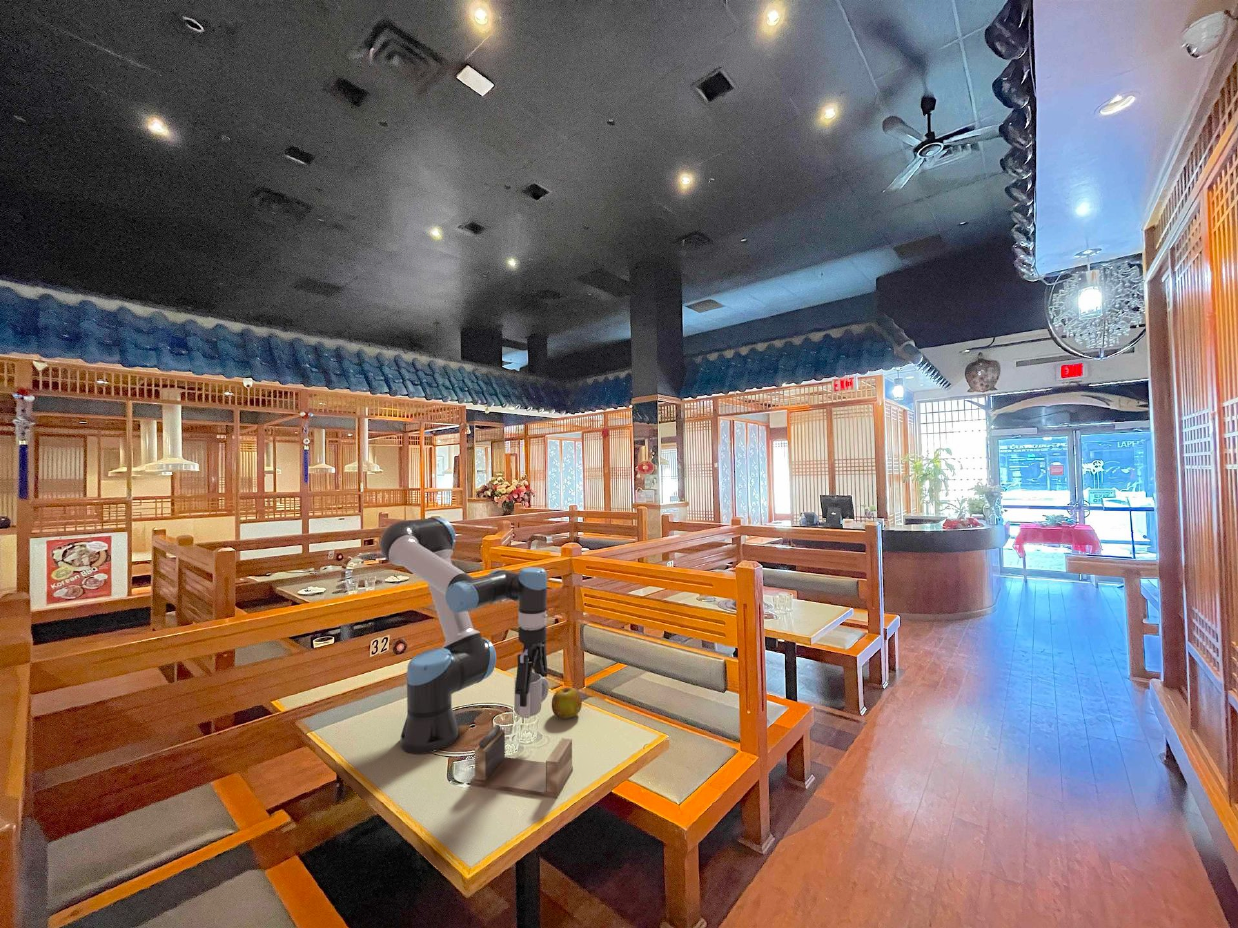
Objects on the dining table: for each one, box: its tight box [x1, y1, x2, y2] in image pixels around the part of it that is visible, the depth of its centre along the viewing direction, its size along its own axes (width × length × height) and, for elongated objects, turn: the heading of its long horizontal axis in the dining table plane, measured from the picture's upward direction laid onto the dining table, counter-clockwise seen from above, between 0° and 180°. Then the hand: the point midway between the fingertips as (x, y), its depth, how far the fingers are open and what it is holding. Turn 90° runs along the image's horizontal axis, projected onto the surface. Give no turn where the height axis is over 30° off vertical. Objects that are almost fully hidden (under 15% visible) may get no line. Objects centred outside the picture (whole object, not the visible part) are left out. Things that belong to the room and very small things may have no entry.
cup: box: [513, 671, 550, 717], centre depth 137 cm, size 7×10×9 cm
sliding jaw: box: [474, 724, 506, 780], centre depth 125 cm, size 3×10×9 cm, turn 166°
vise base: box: [469, 737, 574, 799], centre depth 123 cm, size 22×11×8 cm, turn 76°
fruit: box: [551, 686, 583, 720], centre depth 153 cm, size 10×9×8 cm
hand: (531, 708), depth 137 cm, fingers closed on cup, 9 cm apart
